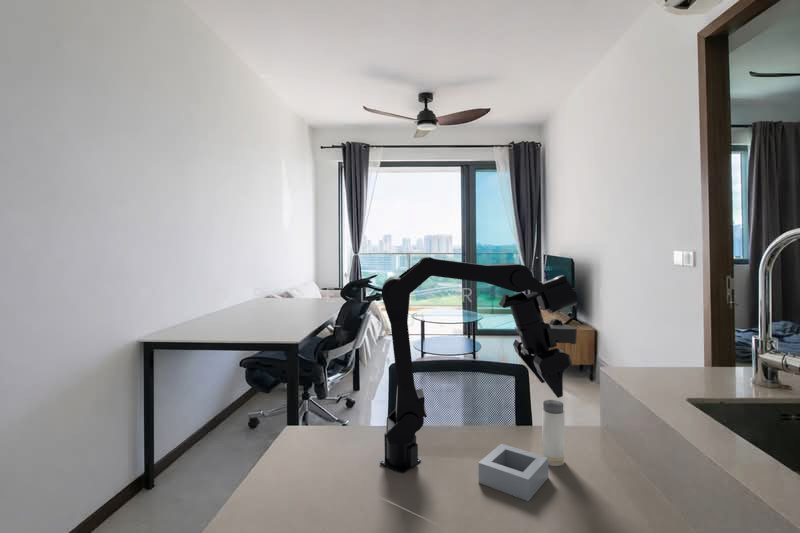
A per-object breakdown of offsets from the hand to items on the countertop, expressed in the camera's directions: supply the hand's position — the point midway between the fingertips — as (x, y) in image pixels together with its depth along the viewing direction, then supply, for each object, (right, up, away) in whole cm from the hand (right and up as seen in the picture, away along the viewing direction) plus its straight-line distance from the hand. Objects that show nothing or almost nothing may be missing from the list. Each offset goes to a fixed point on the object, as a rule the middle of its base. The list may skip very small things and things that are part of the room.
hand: (551, 389), depth 92 cm
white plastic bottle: (0, -15, 0) cm, 15 cm away
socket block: (-10, -16, -7) cm, 20 cm away
